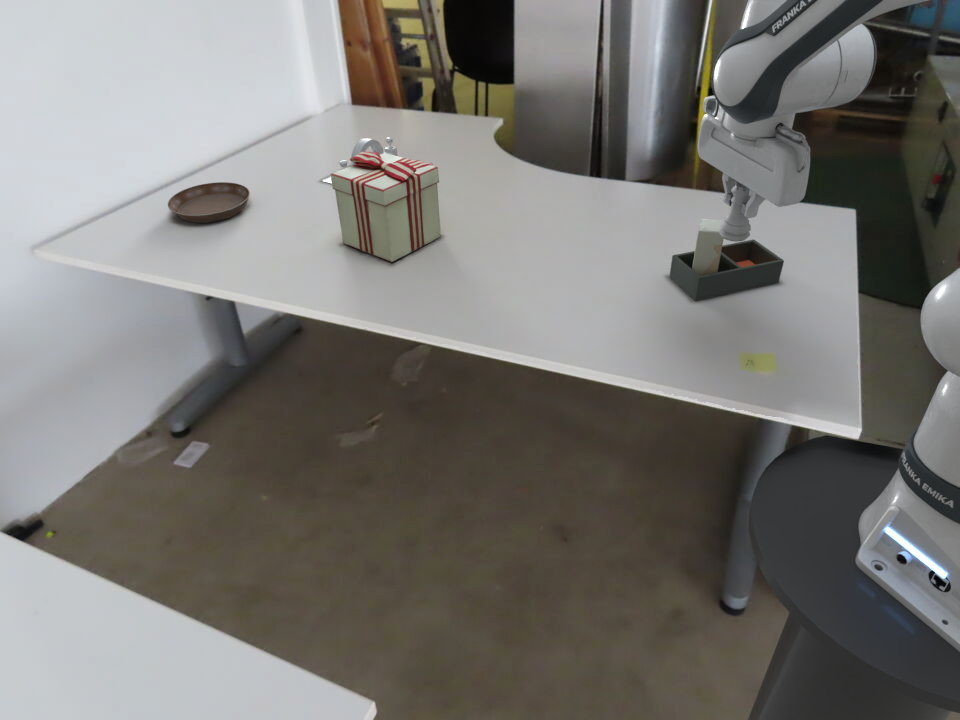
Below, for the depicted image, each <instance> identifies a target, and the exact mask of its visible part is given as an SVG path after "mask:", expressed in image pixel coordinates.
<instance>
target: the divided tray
mask: <svg viewBox="0 0 960 720" xmlns="http://www.w3.org/2000/svg"><path fill="white" fill-rule="evenodd" d="M694 254H695V250H692V251H688V252H683V253H678V254H672V256H671V262H670V269H669V279H671V280H672V281H673V282H674V283H675V284H676V285H677V286H678V287H679V288H680V289H681V290H682V291H684V293H686V294H687V295H688V296H689V297H690V298H691V299H692V300H693V301H701V300H705V299H711V298H714V297H719V296H724V295H729V294H733V293H738V292H743V291H747V290H752V289H757V288H761V287H766V286H770V285H774V284H775V285H777V284H779V283H780V279H781V275H782V271H783V267H784V262H785V260H784V259H782V258H781V257H780V256H778V255H777V254H776V253H774V252H773V251H771V250H770V249H768V248H767V247H765V246H764V245H762V243H760V242H758V241H757V240H756V239H748V240H744V241H738V242H734V243H733V242H732V243H729V244H723V245H722V250H721V255H720V261H719V266H718V271H717V273H712V274H708V275H703V276H699V275H698V274H697V273H696V272H695V271H694V270H692V266H693V260H694Z"/></svg>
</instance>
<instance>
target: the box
mask: <svg viewBox="0 0 960 720" xmlns="http://www.w3.org/2000/svg"><path fill="white" fill-rule="evenodd" d="M723 221H724V220H721V219H710V218H700V220H699V225H698V230H697V235H696V236H697V237H696V241H695V242H696V243H695V247H694V251H695V254H694V260H693V266H692V270H694V271H695V272H696V273H697V274H698V275H699V276H703V275H708V274H712V273H717V271H718V266H719V261H720V255H721V250H722V246H723V245H724V240H725V239H724V238H722V237H721V235H720V233H719V229H720V228H721V227H720V226H721V223H722V222H723Z"/></svg>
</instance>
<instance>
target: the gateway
mask: <svg viewBox="0 0 960 720" xmlns="http://www.w3.org/2000/svg"><path fill="white" fill-rule="evenodd" d="M384 141H385V142H386V144H388V146H386V147H385V148H383V146H382V143H380V142H379V141H378V140H376V139H372V138H366V137H365V138H360V139H359V140H358V141H357V143H356V144H355V145H354V147H353V149H352V151H351V157H350V158H352V157H354V156H356V155H358V154H359V153H361V152H366V150H367V149H368V148H371V150H372V151H371V152H372V153H375V152H377V151H378V153H379V155H381V154H383V153H388V154H391V155H395V156H398V148H397V147H396V146H392V145H391V144H393V142H394V137H390V136H388V137H386V138H385V139H384ZM350 162H351V166H352V165H355V164H354V162H353V161H350ZM338 164H339V165H340V167H341V168H343V169H345V168H347V165H348V161H347V160H345V159H342V160H340V161H339V162H338ZM322 182H323V183H328V184H331V185H332V181H331V176H329V177H326V178H325V179H323V180H322Z"/></svg>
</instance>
